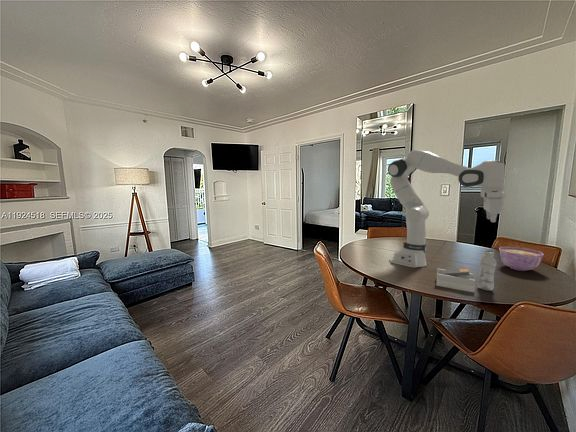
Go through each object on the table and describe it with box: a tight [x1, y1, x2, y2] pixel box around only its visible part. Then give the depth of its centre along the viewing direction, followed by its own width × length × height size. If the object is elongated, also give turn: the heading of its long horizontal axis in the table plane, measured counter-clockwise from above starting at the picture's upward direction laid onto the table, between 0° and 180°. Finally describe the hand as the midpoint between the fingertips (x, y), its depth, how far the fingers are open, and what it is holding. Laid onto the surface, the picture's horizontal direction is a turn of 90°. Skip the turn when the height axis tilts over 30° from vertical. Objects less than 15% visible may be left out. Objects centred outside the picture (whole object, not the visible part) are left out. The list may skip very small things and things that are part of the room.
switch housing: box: [435, 268, 476, 293], centre depth 126 cm, size 16×12×6 cm
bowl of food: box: [498, 246, 544, 272], centre depth 148 cm, size 20×20×12 cm
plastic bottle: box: [477, 250, 498, 292], centre depth 119 cm, size 6×7×20 cm
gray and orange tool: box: [441, 268, 470, 276], centre depth 126 cm, size 12×6×2 cm, turn 57°
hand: (491, 220), depth 119 cm, fingers open, 8 cm apart
